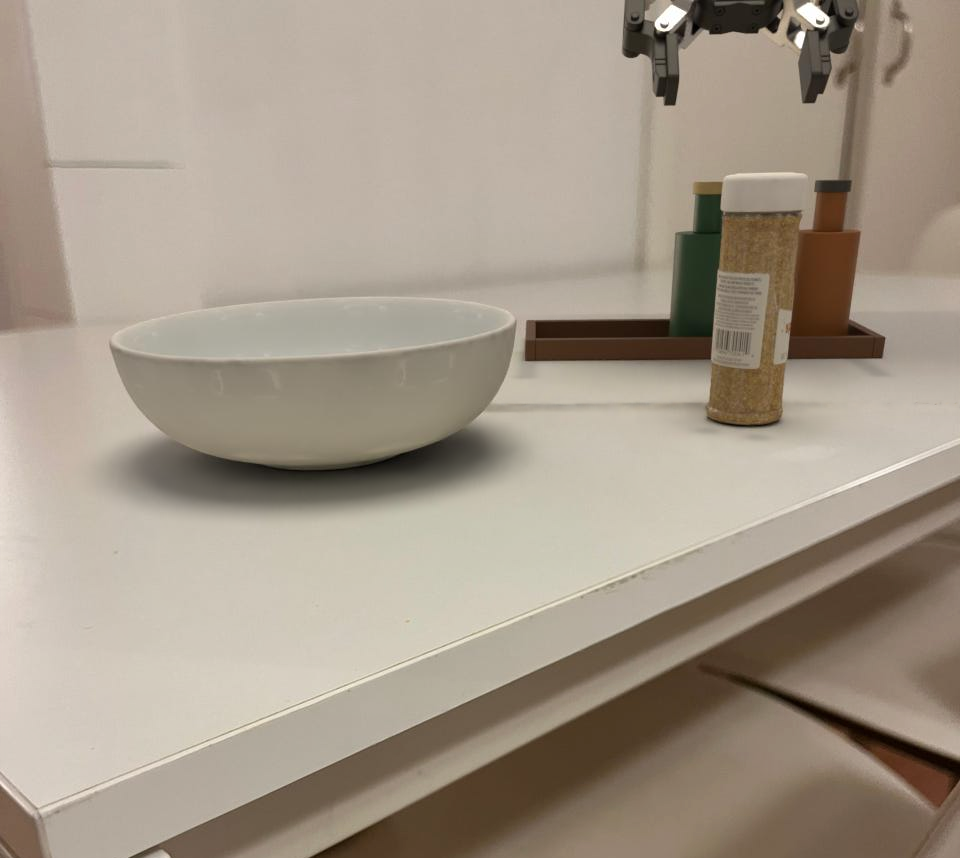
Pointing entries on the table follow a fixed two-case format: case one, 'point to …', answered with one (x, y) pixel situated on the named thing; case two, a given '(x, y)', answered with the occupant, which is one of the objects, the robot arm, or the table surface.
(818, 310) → the amber bottle
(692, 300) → the green bottle
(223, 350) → the serving bowl
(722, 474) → the table surface
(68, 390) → the table surface
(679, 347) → the tray
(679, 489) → the table surface
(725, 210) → the sprinkles bottle
